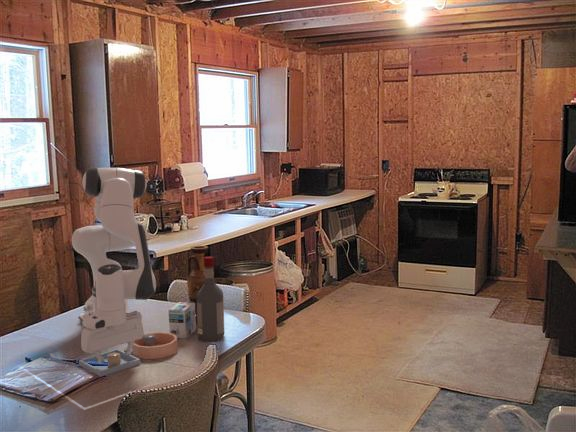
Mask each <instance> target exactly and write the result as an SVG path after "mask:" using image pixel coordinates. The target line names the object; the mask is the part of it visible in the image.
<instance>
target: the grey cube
mask: <svg viewBox="0 0 576 432" xmlns="http://www.w3.org/2000/svg"><path fill="white" fill-rule="evenodd" d="M144 346H148V347H152V346H156V336H155V335H154V334H148V335H145V336H144Z"/></svg>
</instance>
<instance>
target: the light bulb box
mask: <svg viewBox="0 0 576 432" xmlns="http://www.w3.org/2000/svg"><path fill="white" fill-rule="evenodd" d="M195 316H196V314H195V303H190V301H189V302H187V301H178V302H177V303H176V304H175V305H173V306H171V307H170V308H169V309H168V323H169V324H168V325H169V326H168V328H169V333H171V334H174V335H176V337H177V339H188V337H190V336H191V335H192V334H193V333H194V332H196V330H197V324H196V319H195Z"/></svg>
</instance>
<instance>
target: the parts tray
mask: <svg viewBox="0 0 576 432" xmlns="http://www.w3.org/2000/svg"><path fill="white" fill-rule="evenodd" d="M110 353H120V359H121V364H120V365H117V366H114V367H111V368H108V366H92V365H90V364H88V363H86V362H88V361H98V360H97V357H96V356H95V355H92V356H88V357H85V358H81V359H79V360H78V366H80V367H82V368H83V369H85V370H87V371H89V372H90V371H91V373H92V372H93V373H92V374H94V373H95V374H94V375H96V376H98V377H99V378H100V377H101V378H102V377H105V376H107V375H110V374H111V375H112V374H113V373H118V372H120V371H123V370H126V369H129V368H133V367H135V366H138V365H141V358H138V357H135V356H133V355H132V354H131V355H128V356H126V355H125V352H124V350H122V349H120V348H116V349H113V350H109V351H106V352H101V353H100V354H99V355H100V356H102V357H104V361H105V362H108V361H107V355H108V354H110Z"/></svg>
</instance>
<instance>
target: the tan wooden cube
mask: <svg viewBox="0 0 576 432" xmlns="http://www.w3.org/2000/svg"><path fill="white" fill-rule="evenodd" d="M107 361H108V368H111V367H114V366H117V365H120V364H121V359H120V353H110V354H108V355H107Z"/></svg>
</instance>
